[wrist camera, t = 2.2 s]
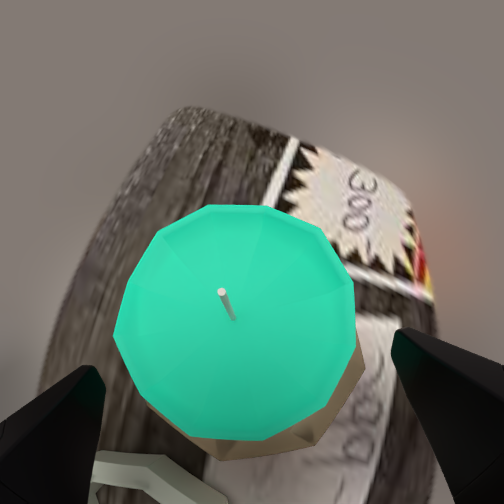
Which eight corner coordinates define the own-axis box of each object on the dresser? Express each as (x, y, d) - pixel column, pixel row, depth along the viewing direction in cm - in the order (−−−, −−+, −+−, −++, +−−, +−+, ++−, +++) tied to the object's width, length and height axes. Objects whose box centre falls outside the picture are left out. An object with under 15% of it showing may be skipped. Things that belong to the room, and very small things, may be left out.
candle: (252, 287, 17) (236, 129, 7) (322, 354, 15) (438, 288, 5) (179, 350, 16) (42, 279, 5) (247, 424, 14) (213, 519, 3)
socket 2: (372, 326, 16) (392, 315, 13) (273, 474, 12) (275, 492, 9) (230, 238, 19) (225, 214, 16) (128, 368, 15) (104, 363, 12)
